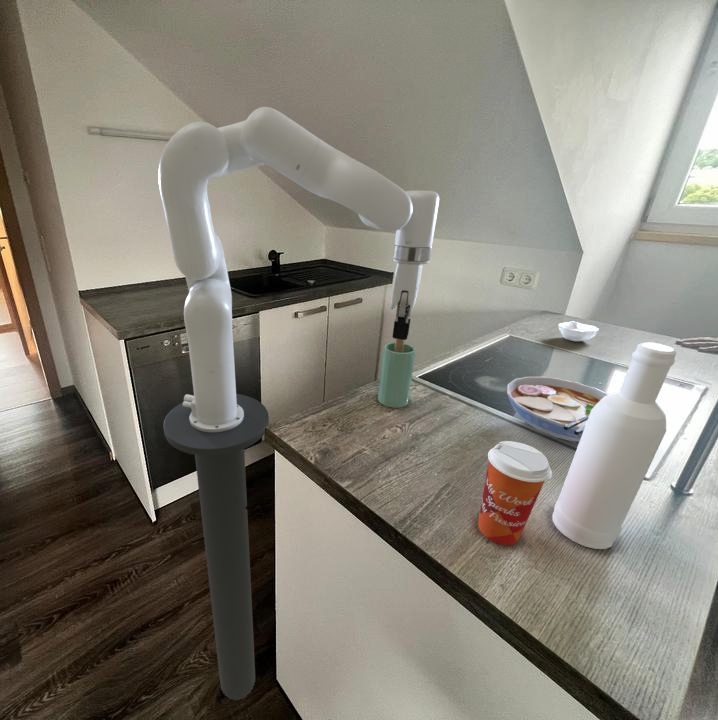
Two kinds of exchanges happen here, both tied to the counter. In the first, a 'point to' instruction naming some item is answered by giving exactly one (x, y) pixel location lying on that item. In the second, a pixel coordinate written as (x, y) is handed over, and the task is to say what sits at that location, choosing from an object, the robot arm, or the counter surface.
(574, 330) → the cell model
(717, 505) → the counter surface
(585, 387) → the ramen bowl
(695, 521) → the counter surface
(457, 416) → the counter surface
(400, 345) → the brush
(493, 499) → the paper cup
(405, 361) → the cylindrical holder
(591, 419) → the bottle
